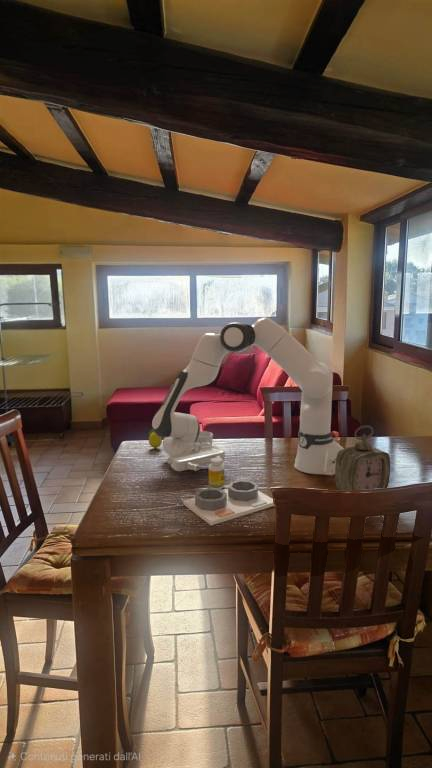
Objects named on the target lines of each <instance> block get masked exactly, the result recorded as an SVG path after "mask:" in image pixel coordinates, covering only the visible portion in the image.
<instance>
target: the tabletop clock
mask: <svg viewBox="0 0 432 768" xmlns="http://www.w3.org/2000/svg"><path fill="white" fill-rule="evenodd" d="M362 429H370V431H371V433H370V435H368V436H366V434H362V436H361V437H359V436H357V433H358V431H360V430H362ZM373 435H374V429H373V427H372V426H370V425H362V426H360V427H358V428H357V429H356V430H355V432H354V437H355V438H356V439H357V441H356V442H355V444H354V445H353V446H350V447H345V448H344V449H342V450H340V451H339V452H338V454H337V458H336V466H335V474H334V475H335V476H334V480H335V484H336V488H337V490H338V491H339V490H362V489H374V488H387V487H389V483H390V476H391V457H390V453H389V452H386V451H383V450H381V449H379V448H376V447H374V446H372V443H371V442H370V441H369V440H368V439H370V438H371V437H372V436H373ZM387 489H388V488H387Z"/></svg>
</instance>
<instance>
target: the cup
mask: <svg viewBox="0 0 432 768" xmlns="http://www.w3.org/2000/svg"><path fill="white" fill-rule="evenodd" d="M213 437H214V434H213V432H210V431H205V430H200V433H199V436H198V438H197V440H196V442H197V443H205V442H208V443H211V446H213V445H212V444H213Z"/></svg>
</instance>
